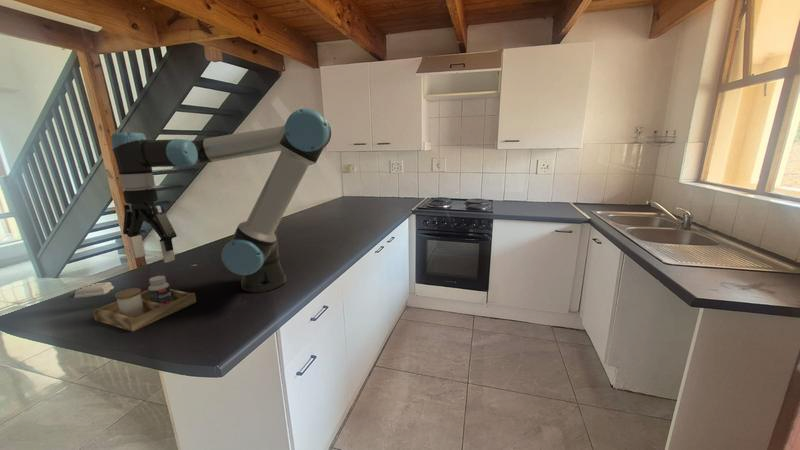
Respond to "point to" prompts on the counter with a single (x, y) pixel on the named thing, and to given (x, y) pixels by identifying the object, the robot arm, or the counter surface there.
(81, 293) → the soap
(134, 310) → the jar
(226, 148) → the robot arm
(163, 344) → the counter surface
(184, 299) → the caddy
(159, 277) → the pill bottle
